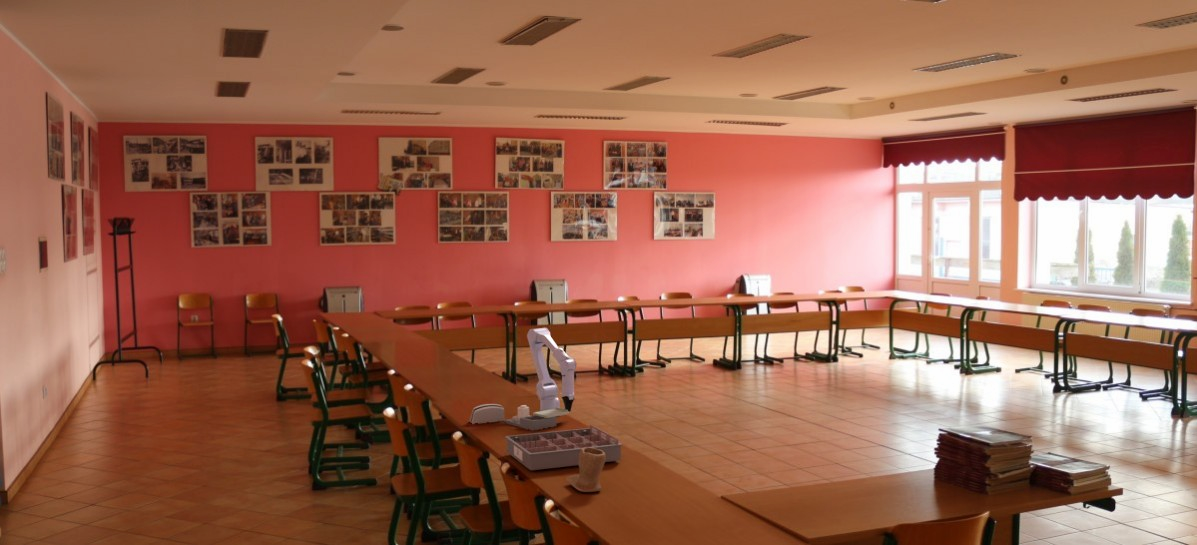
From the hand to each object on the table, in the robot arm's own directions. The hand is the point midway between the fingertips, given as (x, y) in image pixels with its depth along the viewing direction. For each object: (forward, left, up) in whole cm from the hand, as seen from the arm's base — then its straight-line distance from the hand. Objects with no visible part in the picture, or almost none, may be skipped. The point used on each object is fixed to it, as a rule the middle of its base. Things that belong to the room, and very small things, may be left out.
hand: (568, 411), depth 457 cm
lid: (+10, 0, 0) cm, 11 cm away
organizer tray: (+48, +52, -5) cm, 71 cm away
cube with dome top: (+18, -11, -3) cm, 22 cm away
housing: (+19, -6, -5) cm, 20 cm away
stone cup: (+67, +90, -5) cm, 113 cm away
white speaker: (+30, -24, -5) cm, 39 cm away
